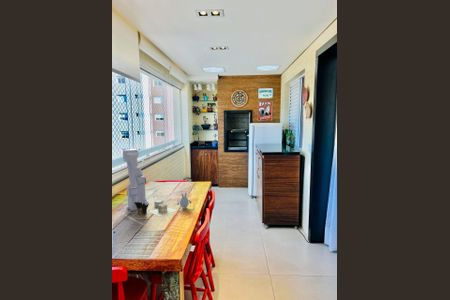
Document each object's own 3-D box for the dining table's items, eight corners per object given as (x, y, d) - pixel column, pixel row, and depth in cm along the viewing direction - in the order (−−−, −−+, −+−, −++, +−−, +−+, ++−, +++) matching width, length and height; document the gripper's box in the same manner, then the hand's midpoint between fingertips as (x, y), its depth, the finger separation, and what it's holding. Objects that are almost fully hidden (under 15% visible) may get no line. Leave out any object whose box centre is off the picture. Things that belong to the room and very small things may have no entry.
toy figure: (190, 206, 177) (190, 191, 176) (192, 209, 171) (192, 193, 170) (176, 209, 173) (175, 193, 171) (178, 212, 167) (177, 195, 166)
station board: (148, 212, 167) (148, 211, 167) (165, 206, 178) (165, 206, 177) (159, 217, 158) (159, 216, 158) (177, 211, 168) (176, 210, 168)
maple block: (158, 211, 167) (158, 205, 167) (163, 209, 171) (163, 203, 170) (161, 212, 164) (161, 206, 164) (167, 210, 168) (167, 204, 167)
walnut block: (137, 214, 163) (137, 208, 163) (143, 212, 167) (143, 206, 166) (140, 216, 160) (140, 210, 160) (146, 214, 164) (146, 208, 163)
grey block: (154, 207, 177) (154, 201, 176) (158, 205, 181) (158, 199, 180) (159, 208, 175) (159, 202, 174) (163, 206, 179) (163, 200, 178)
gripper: (130, 192, 163) (131, 211, 165) (140, 197, 154) (142, 217, 156) (139, 190, 169) (140, 208, 170) (150, 194, 159) (151, 213, 161)
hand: (142, 212), depth 163 cm, fingers open, 6 cm apart
